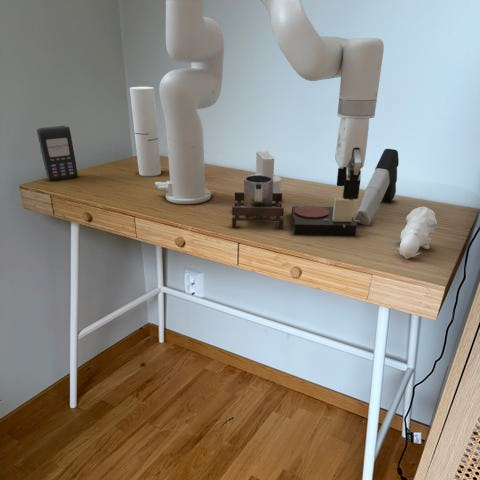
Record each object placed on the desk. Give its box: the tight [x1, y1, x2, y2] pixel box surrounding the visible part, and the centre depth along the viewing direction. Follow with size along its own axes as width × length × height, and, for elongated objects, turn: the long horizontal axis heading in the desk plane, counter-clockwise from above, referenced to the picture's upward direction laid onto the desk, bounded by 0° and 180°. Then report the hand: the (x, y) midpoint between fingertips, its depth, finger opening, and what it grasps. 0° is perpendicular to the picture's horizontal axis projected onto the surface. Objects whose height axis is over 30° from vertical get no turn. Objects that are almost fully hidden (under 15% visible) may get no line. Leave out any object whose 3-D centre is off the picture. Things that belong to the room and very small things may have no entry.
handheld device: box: [355, 148, 400, 226], centre depth 118 cm, size 4×22×15 cm
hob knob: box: [332, 197, 355, 222], centre depth 106 cm, size 4×2×5 cm, turn 88°
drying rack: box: [231, 191, 285, 230], centre depth 113 cm, size 12×12×5 cm
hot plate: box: [294, 205, 329, 218], centre depth 112 cm, size 8×8×1 cm
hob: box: [290, 205, 360, 237], centre depth 110 cm, size 15×14×3 cm
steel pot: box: [243, 174, 273, 207], centre depth 111 cm, size 7×9×7 cm
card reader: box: [36, 125, 78, 181], centre depth 141 cm, size 9×4×15 cm, turn 123°
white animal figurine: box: [397, 206, 438, 260], centre depth 96 cm, size 6×8×12 cm
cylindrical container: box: [129, 86, 162, 177], centre depth 144 cm, size 7×7×25 cm
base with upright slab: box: [250, 150, 282, 203], centre depth 124 cm, size 9×9×12 cm
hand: (346, 192), depth 103 cm, fingers open, 9 cm apart
